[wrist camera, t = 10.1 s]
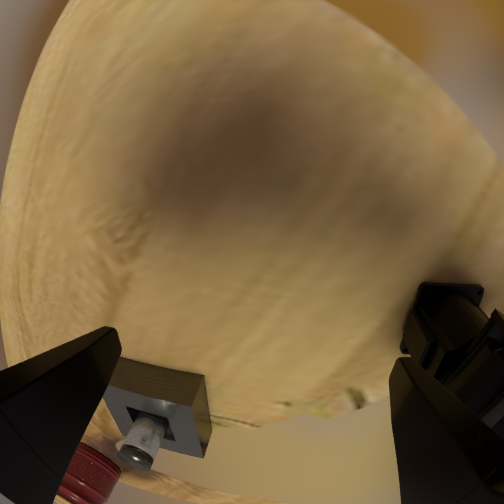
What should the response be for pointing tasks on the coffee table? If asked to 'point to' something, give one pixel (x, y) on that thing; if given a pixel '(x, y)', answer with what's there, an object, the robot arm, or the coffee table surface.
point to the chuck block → (162, 403)
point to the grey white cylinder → (143, 440)
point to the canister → (88, 478)
